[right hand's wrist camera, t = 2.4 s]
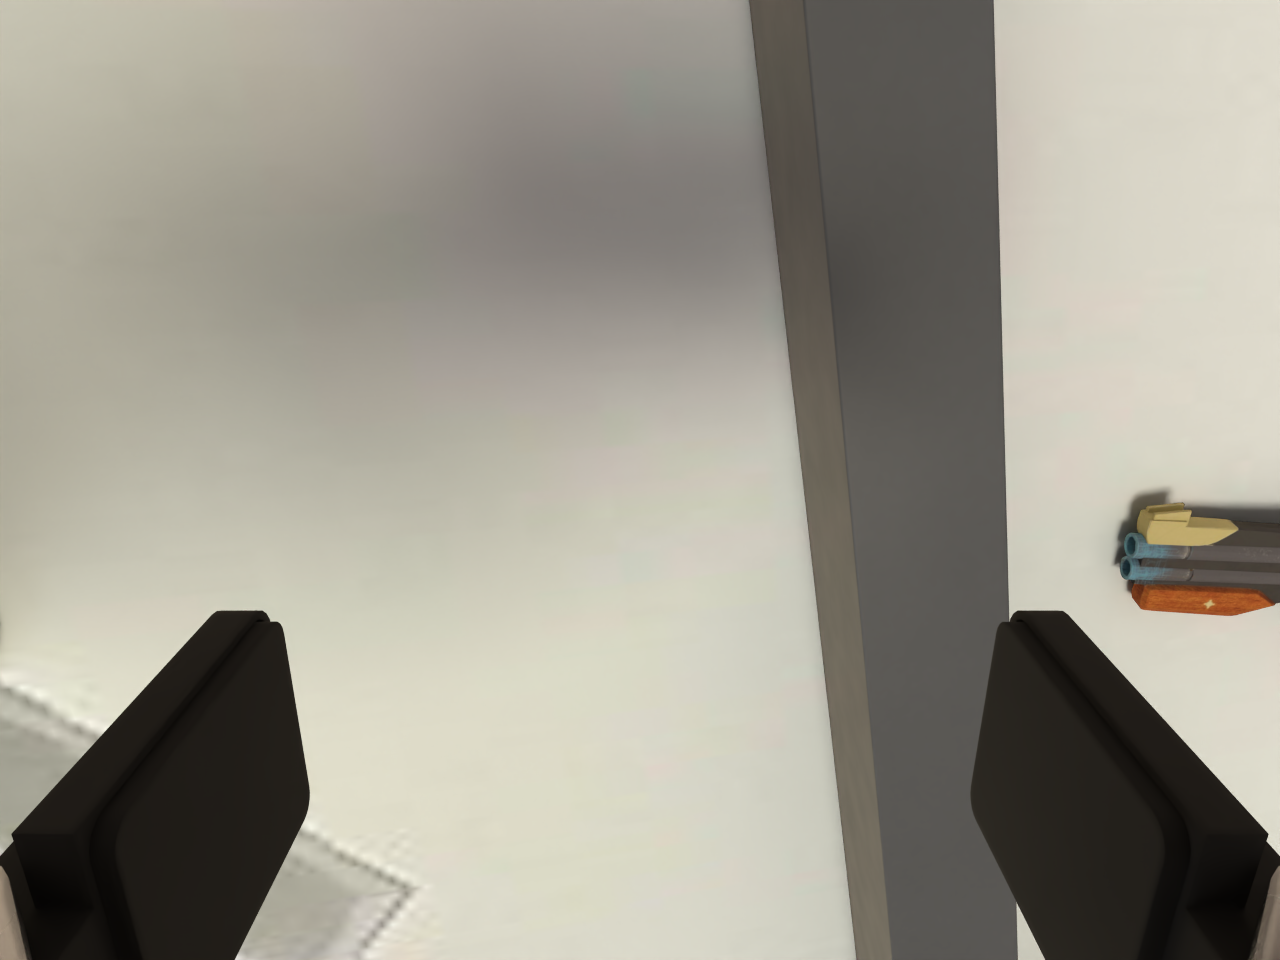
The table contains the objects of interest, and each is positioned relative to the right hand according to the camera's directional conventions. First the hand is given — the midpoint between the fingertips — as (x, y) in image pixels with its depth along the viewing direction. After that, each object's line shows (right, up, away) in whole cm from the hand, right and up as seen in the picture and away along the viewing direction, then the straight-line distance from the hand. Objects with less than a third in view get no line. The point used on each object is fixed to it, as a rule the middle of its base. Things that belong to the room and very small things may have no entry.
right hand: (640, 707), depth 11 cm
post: (+9, -2, +23) cm, 25 cm away
